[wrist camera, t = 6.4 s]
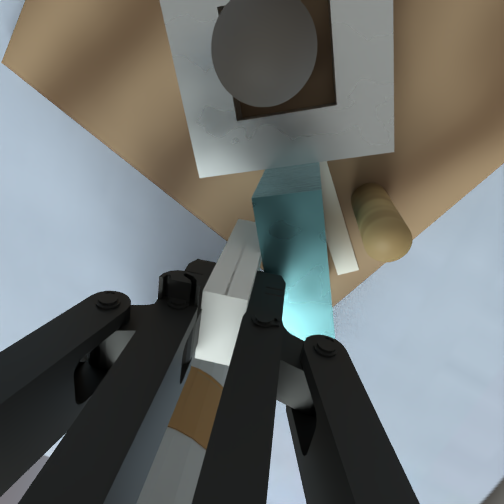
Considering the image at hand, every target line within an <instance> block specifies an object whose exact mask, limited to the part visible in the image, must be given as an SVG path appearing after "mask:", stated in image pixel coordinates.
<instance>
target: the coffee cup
mask: <svg viewBox="0 0 504 504" xmlns="http://www.w3.org/2000/svg"><path fill="white" fill-rule="evenodd" d="M195 352H196V349H195ZM195 352H194V354H193V356H192V362H191V370H190V372H189V375H188V377H187V379H186V382H185V384H184V387H183V389H182V392H181V394H180V397H179V399H178V402H177V404H176V407H175V409H174V412H173V414H172V417H171V419H170V421H169V424H168V426H167V429H166V431H165V434H164V436H163V439H162V441H161V444H160V446H159V449H158V451H157V454H156V456H155V459H154V461H153V464H152V466H151V468H150V471H149V473H148V476H147V478H146V481H145V483H144V486H143V488H142V491H141V493H140V496H139V498H138V501H137V503H136V504H192V500H193V497H194V493H195V489H196V486H197V482H198V478H199V475H200V471H201V467H202V464H203V460H204V456H205V453H206V449H207V445H208V442H209V438H210V434H211V431H212V427H213V423H214V420H215V416H216V412H217V409H218V405H219V401H220V398H221V394H222V390H223V387H224V383H225V379H226V376H227V372H228V368H229V366H228V365H223V364H219V363H214V362H210V361H206V360H201V359H197V358H195Z"/></svg>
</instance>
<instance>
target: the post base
mask: <svg viewBox="0 0 504 504" xmlns="http://www.w3.org/2000/svg"><path fill="white" fill-rule="evenodd" d="M393 42H394V152H391V153H384V154H376V155H369V156H361V157H354V158H346V159H339V160H331V161H324V162H319V165H320V176H321V187H322V198H323V209H324V220H325V231H326V242H327V253H328V264H329V275H330V287H331V298H332V307H333V306H335V305H336V304H337V303H338V302H339V301H340V300H342V299H343V298H344V297H345V296H346V295H348V294H349V293H350V292H351V291H352V290H354V289H355V288H356V287H357V286H358V285H359V284H361V283H362V282H363V281H364V280H365V279H367V278H368V277H369V276H370V275H371V274H373V273H374V272H375V271H376V270H377V269H378V268H380V267H381V266H382V265H383V264H384V263H386V262H392V261H396V260H398V259H400V258H402V257H403V256H404V255H405V254H406V253H407V252H408V251H409V249H410V247H411V245H412V240H413V239H414V238H415V237H417V236H418V235H419V234H420V233H421V232H422V231H424V230H425V229H426V228H427V227H428V226H430V225H431V224H432V223H433V222H434V221H436V220H437V219H438V218H439V217H440V216H441V215H443V214H444V213H445V212H446V211H447V210H449V209H450V208H451V207H452V206H453V205H455V204H456V203H457V202H458V201H459V200H461V199H462V198H463V197H464V196H465V195H466V194H468V193H469V192H470V191H471V190H472V189H474V188H475V187H476V186H477V185H478V184H480V183H481V182H482V181H483V180H484V179H485V178H487V177H488V176H489V175H490V174H491V173H493V172H494V171H495V170H496V169H497V168H499V167H500V166H501V165H502V164H503V163H504V0H393ZM211 55H212V61H213V66H214V69H215V72H216V74H217V76H218V78H219V80H220V82H221V84H222V85H223V86H224V88H225V89H226V90H227V91H228V92H229V93H230V94H231V95H232V96H233V97H235V98H236V99H237V100H239V101H240V106H241V112H242V118H245V117H251V116H257V115H263V114H269V113H275V112H281V111H287V110H293V109H299V108H306V107H312V106H318V105H324V104H330V103H335V95H334V80H333V66H332V51H331V37H330V22H329V7H328V0H230V1H229V2H228V3H227V4H226V5H225V7H224V8H223V10H222V11H221V13H220V15H219V16H218V18H217V21H216V23H215V26H214V30H213V33H212V40H211ZM1 63H3V64H4V65H5V66H7V67H8V68H9V69H10V70H12V71H13V72H14V73H15V74H17V75H18V76H19V77H20V78H22V79H23V80H24V81H25V82H27V83H28V84H29V85H30V86H32V87H33V88H34V89H36V90H37V91H38V92H39V93H41V94H42V95H43V96H44V97H46V98H47V99H48V100H49V101H51V102H52V103H53V104H54V105H56V106H57V107H58V108H59V109H61V110H62V111H63V112H65V113H66V114H67V115H68V116H70V117H71V118H72V119H73V120H75V121H76V122H77V123H78V124H80V125H81V126H82V127H83V128H85V129H86V130H87V131H89V132H90V133H91V134H92V135H94V136H95V137H96V138H97V139H99V140H100V141H101V142H102V143H104V144H105V145H106V146H107V147H109V148H110V149H111V150H112V151H114V152H115V153H116V154H118V155H119V156H120V157H121V158H123V159H124V160H125V161H126V162H128V163H129V164H130V165H131V166H133V167H134V168H135V169H136V170H138V171H139V172H140V173H141V174H143V175H144V176H145V177H147V178H148V179H149V180H150V181H152V182H153V183H154V184H155V185H157V186H158V187H159V188H160V189H162V190H163V191H164V192H165V193H167V194H168V195H169V196H171V197H172V198H173V199H174V200H176V201H177V202H178V203H179V204H181V205H182V206H183V207H184V208H186V209H187V210H188V211H189V212H191V213H192V214H193V215H194V216H196V217H197V218H198V219H200V220H201V221H202V222H203V223H205V224H206V225H207V226H208V227H210V228H211V229H212V230H213V231H215V232H216V233H217V234H218V235H220V236H221V237H222V238H223V239H225V240H226V241H228V239H229V237H230V235H231V233H232V231H233V229H234V227H235V225H236V223H237V221H238V219H242V220H247V221H252V222H255V217H254V211H253V205H252V199H251V198H252V196H253V194H254V192H255V189H256V187H257V185H258V183H259V181H260V179H261V177H262V175H263V173H264V171H265V169H264V170H257V171H249V172H242V173H234V174H227V175H219V176H212V177H205V178H199V173H198V169H197V165H196V160H195V156H194V151H193V147H192V142H191V138H190V133H189V129H188V125H187V120H186V116H185V111H184V107H183V102H182V98H181V94H180V89H179V85H178V80H177V76H176V71H175V67H174V63H173V58H172V54H171V49H170V45H169V40H168V36H167V32H166V27H165V23H164V18H163V14H162V9H161V5H160V0H25V3H24V5H23V8H22V11H21V13H20V16H19V18H18V21H17V24H16V26H15V29H14V31H13V34H12V36H11V39H10V42H9V44H8V47H7V49H6V52H5V55H4V57H3V60H2V62H1ZM260 268H261V269H263V263H262V260H261V265H260ZM263 270H264V269H263Z"/></svg>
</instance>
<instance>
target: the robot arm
mask: <svg viewBox="0 0 504 504" xmlns="http://www.w3.org/2000/svg"><path fill="white" fill-rule="evenodd" d="M261 260H262V258H261V252H260V246H259V240H258V234H257V228H256V223H255V222H252V221H247V220H242V219H238V221H237V223H236V225H235V227H234V229H233V231H232V233H231V235H230V237H229V239H228V241H227V243H226V245H225V247H224V249H223V251H222V253H221V255H220V257H219V259H218V261H217V263H214V262H209V261H205V260H200V259H197V260H195V261H193V262H191V263H189V264H188V266H187V268H186V269H185V271H179V270H177V271H169V272H166V273H163V274H162V275H161V276H160V277H159V291H158V300H157V301H156V302H155V304H151V305H131V300H130V299H129V297H128V296H127V295H125V294H123V293H121V292H117V291H104V292H98V293H96V294H94V295H91V296H90V297H88V298H86V299H85V300H83V301H82V302H80V303H78V304H77V305H75V306H74V307H72V308H70V309H69V310H67V311H66V312H64V313H62V314H61V315H59V316H58V317H56V318H54V319H53V320H51V321H50V322H48V323H46V324H45V325H43V326H41V327H40V328H38V329H37V330H35V331H33V332H32V333H30V334H29V335H27V336H25V337H24V338H22V339H21V340H19V341H17V342H16V343H14V344H13V345H11V346H9V347H8V348H6V349H5V350H3V351H1V352H0V497H1V496H2V495H3V494H4V493H5V492H6V491H7V490H8V489H9V488H10V487H11V486H12V485H13V484H14V483H15V482H16V481H17V480H18V479H19V478H20V477H21V476H22V475H23V474H24V473H25V472H26V471H27V470H28V469H29V468H30V467H32V465H33V464H35V463H36V462H37V461H38V460H39V459H40V457H42V456H43V455H44V454H45V453H46V452H47V451H48V450H49V449H50V448H51V447H52V446H53V445H54V444H55V443H56V442H57V441H58V440H59V439H60V438H61V437H62V436H63V435H64V434H65V433H66V432H67V433H66V434H65V436H64V437H63V439H62V440H61V441H60V443H59V444H58V446H57V447H56V449H55V450H54V452H53V453H52V455H51V456H50V458H49V459H48V460H47V462H46V464H45V465H44V466H43V468H42V469H41V471H40V472H39V474H38V475H37V477H36V478H35V480H34V481H33V482H32V484H31V486H30V487H29V489H28V490H27V491H26V493H25V494H24V496H23V497H22V499H21V500H20V501H19V503H18V504H136V503H137V501H138V498H139V496H140V493H141V491H142V488H143V486H144V483H145V481H146V478H147V476H148V473H149V471H150V468H151V466H152V464H153V461H154V459H155V456H156V454H157V451H158V449H159V446H160V444H161V441H162V439H163V436H164V434H165V431H166V429H167V426H168V424H169V421H170V419H171V417H172V414H173V412H174V409H175V407H176V404H177V402H178V399H179V397H180V394H181V392H182V389H183V387H184V384H185V382H186V379H187V377H188V375H189V372H190V370H191V362H192V356H193V354H194V352H195V349H196V352H195V358H197V359H201V360H206V361H210V362H214V363H219V364H223V365H228V366H229V368H228V372H227V376H226V379H225V383H224V387H223V390H222V394H221V398H220V401H219V405H218V409H217V412H216V416H215V420H214V423H213V427H212V431H211V434H210V438H209V442H208V445H207V449H206V453H205V456H204V460H203V464H202V467H201V471H200V475H199V478H198V482H197V486H196V489H195V493H194V497H193V500H192V504H266V500H267V490H268V479H269V469H270V459H271V449H272V438H273V428H274V418H275V408H276V400H278V401H280V402H282V403H284V404H286V412H287V417H288V421H289V426H290V431H291V435H292V440H293V444H294V449H295V453H296V458H297V462H298V467H299V471H300V476H301V480H302V485H303V489H304V494H305V498H306V503H307V504H419V501H418V499H417V497H416V495H415V493H414V491H413V489H412V487H411V485H410V483H409V480H408V478H407V476H406V474H405V472H404V470H403V468H402V466H401V464H400V462H399V459H398V457H397V455H396V453H395V451H394V449H393V447H392V445H391V443H390V441H389V438H388V436H387V434H386V432H385V430H384V428H383V426H382V424H381V422H380V420H379V417H378V415H377V413H376V411H375V409H374V407H373V405H372V403H371V401H370V399H369V396H368V394H367V392H366V390H365V388H364V386H363V384H362V382H361V380H360V378H359V375H358V373H357V371H356V369H355V367H354V365H353V363H352V361H351V359H350V357H349V354H348V352H347V350H346V349H345V347H344V346H343V345H342V344H341V343H340V342H338V341H337V340H336V339H334V338H331V337H329V336H326V335H320V334H318V335H311V336H309V337H307V338H306V339H305V341H304V340H302V339H300V338H298V337H296V336H294V335H292V334H291V333H290V332H288V331H287V330H286V328H285V327H284V325H283V321H282V315H283V306H284V296H285V287H286V282H285V281H284V279H283V277H282V276H281V275H276V274H271V273H266V272H262V271H259V270H260V265H261Z"/></svg>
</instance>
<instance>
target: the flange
mask: <svg viewBox="0 0 504 504" xmlns="http://www.w3.org/2000/svg"><path fill="white" fill-rule="evenodd" d="M229 1H230V0H160V5H161V9H162V14H163V18H164V23H165V27H166V32H167V36H168V40H169V45H170V49H171V54H172V58H173V63H174V67H175V71H176V76H177V80H178V85H179V89H180V94H181V98H182V102H183V107H184V111H185V116H186V120H187V125H188V129H189V133H190V138H191V142H192V147H193V151H194V156H195V160H196V165H197V169H198V173H199V178H205V177H212V176H219V175H227V174H234V173H242V172H249V171H257V170H264V169H265V171H264V173H263V175H262V177H261V179H260V181H259V183H258V185H257V187H256V189H255V192H254V194H253V196H252V198H251V199H252V205H253V211H254V217H255V223H256V228H257V234H258V240H259V246H260V252H261V258H262V263H263V269H264V272H266V273H271V274H276V275H281V276H282V277H283V279H284V281H285V282H286V287H285V296H284V306H283V315H282V321H283V325H284V327H285V328H286V330H287V331H288V332H290V333H291V334H292V335H294V336H296V337H298V338H300V339H302V340H304V341H305V339H306V338H307V337H309V336H311V335H318V334H320V335H326V336H329V337H331V338H334V339H335V333H334V321H333V310H332V298H331V287H330V275H329V264H328V253H327V242H326V231H325V220H324V209H323V198H322V187H321V176H320V165H319V162H324V161H331V160H339V159H346V158H354V157H361V156H369V155H376V154H384V153H391V152H394V42H393V0H328V7H329V22H330V37H331V51H332V66H333V80H334V95H335V103H330V104H324V105H318V106H312V107H306V108H299V109H293V110H287V111H281V112H275V113H269V114H263V115H257V116H251V117H245V118H242V112H241V106H240V101H239V100H237V99H236V98H235V97H233V96H232V95H231V94H230V93H229V92H228V91H227V90H226V89H225V88H224V86H223V85H222V84H221V82H220V80H219V78H218V76H217V74H216V72H215V69H214V66H213V61H212V55H211V40H212V33H213V30H214V26H215V23H216V21H217V18H218V16H219V15H220V13H221V11H222V10H223V8H224V7H225V5H226V4H227V3H228V2H229Z"/></svg>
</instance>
